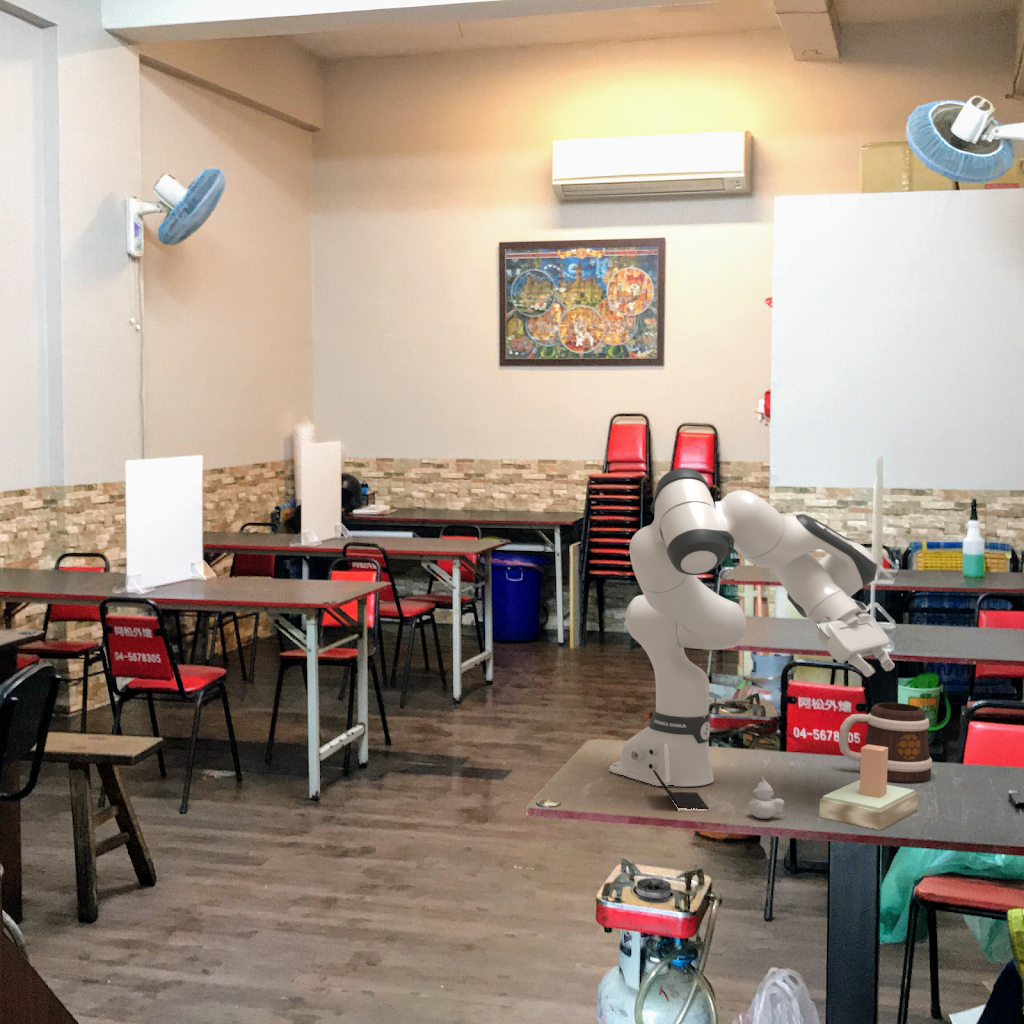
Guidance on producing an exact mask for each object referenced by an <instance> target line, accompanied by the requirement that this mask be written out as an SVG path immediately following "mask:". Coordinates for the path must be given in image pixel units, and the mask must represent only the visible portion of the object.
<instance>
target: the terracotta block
mask: <svg viewBox="0 0 1024 1024" xmlns="http://www.w3.org/2000/svg"><path fill="white" fill-rule="evenodd" d="M860 753H861V761H860V763H859V765H860V766H859V767H860V768H859V769H860V770H859V780H860V790H859V794H860V795H866V796H871V797H877V798H881V797H882V796H884V795H885V794H886V793H887V785H888V781H887V767H888V747H883V746H876V745H869V744H867V745H866V744H864V745H863V746H862V747H861V748H860Z"/></svg>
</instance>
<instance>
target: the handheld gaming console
mask: <svg viewBox="0 0 1024 1024" xmlns="http://www.w3.org/2000/svg"><path fill="white" fill-rule="evenodd" d="M653 772H654V773H655V775H656V777H657V778H658V780H659V781H660V783H661V785H662V786H663V787H662V788H663V789H664V790H665V792H666V793H667V795H668V794H669V796H670V797H671V799H672V800H673V801H674V803H675V804H676V805H677V807H678V808H687V809H691V808H692V809H693V808H695V809H696V808H697V809H708V810H709V807H708V806H707V804H706V803H705V801H704V800H703V799H702V797H701V796H700V794H699V793H698V792H696V791H695V792H690V791H689V792H687V791H686V792H684V791H683V792H682V791H678V792H677V791H672V790H671V789H669V788H668V786H666V785H665V784H664V782H663V781H662V780H661V778H660V777H659V775H658V774H657V772H656V771H655V770H653ZM671 799H670V800H671Z"/></svg>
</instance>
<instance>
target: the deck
mask: <svg viewBox="0 0 1024 1024" xmlns="http://www.w3.org/2000/svg"><path fill="white" fill-rule="evenodd" d="M859 790H860V779H858V780H856V781H853V782H852V783H849V784H847V785H845V786H842V787H841V788H837V789H836V790H835V789H834V791H831V792H829V793H827V794H825V795H822V797H821V798H820V799H819V813H818V815H819V816H818V817H819V818H823V819H827V820H832V821H837V822H842V823H846V824H850V825H855V826H859V827H864V828H867V827H868V828H867V829H872V828H873V830H878V831H882V830H884V829H886V827H889V826H890V825H893V824H895V823H896V822H898V821H899V820H901V819H904V818H905V817H907V816H910V815H911V814H913V813H915V812H917V811H918V792H916V790H915V789H911V788H906V787H900V786H895V785H890V784H887V793H886V794H885V795H884V796H882V797H881V798H877V797H871V796H866V795H860V794H859ZM916 810H917V811H916ZM881 829H882V830H881Z"/></svg>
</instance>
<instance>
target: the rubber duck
mask: <svg viewBox="0 0 1024 1024" xmlns="http://www.w3.org/2000/svg"><path fill="white" fill-rule="evenodd" d="M753 792H754V796H755V797H754V798H752V799H751V800H750V801H749V803H748V809H749V812H750V813H751V814H752V815H753V816H754V817H755V818H757V819H762V820H767V819H770V818H772V817H774V815H775V814H783V812H784V808H783V807H784V806H785V803H786V801H785V800H783V798H780V797H777V798H772V797H773V796H774V794H775V793H774V790H773V788H772V786H771V785H770V783H768V781H767V780H765V778H764V775H762V777H761V781H760V782H759V783H758V784H757V787H756V788H754V789H753Z"/></svg>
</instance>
